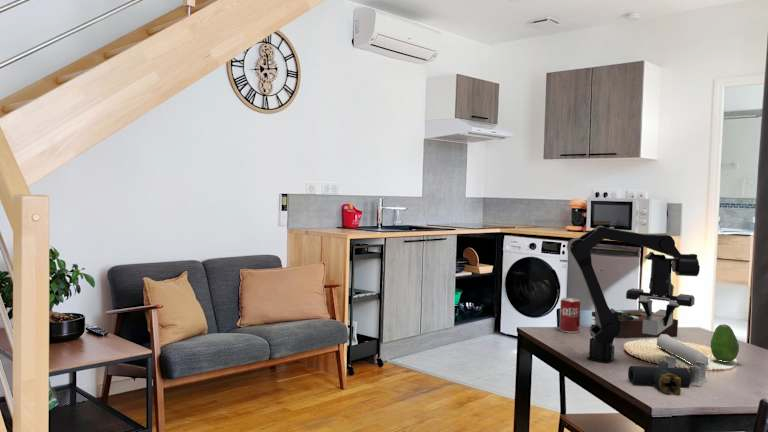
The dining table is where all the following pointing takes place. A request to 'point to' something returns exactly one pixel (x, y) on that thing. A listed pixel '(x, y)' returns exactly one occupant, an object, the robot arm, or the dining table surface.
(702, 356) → the tube
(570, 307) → the soda can
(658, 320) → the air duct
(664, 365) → the collar rail
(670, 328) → the brown flat box
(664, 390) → the pipe connector
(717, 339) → the avocado
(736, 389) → the dining table surface
